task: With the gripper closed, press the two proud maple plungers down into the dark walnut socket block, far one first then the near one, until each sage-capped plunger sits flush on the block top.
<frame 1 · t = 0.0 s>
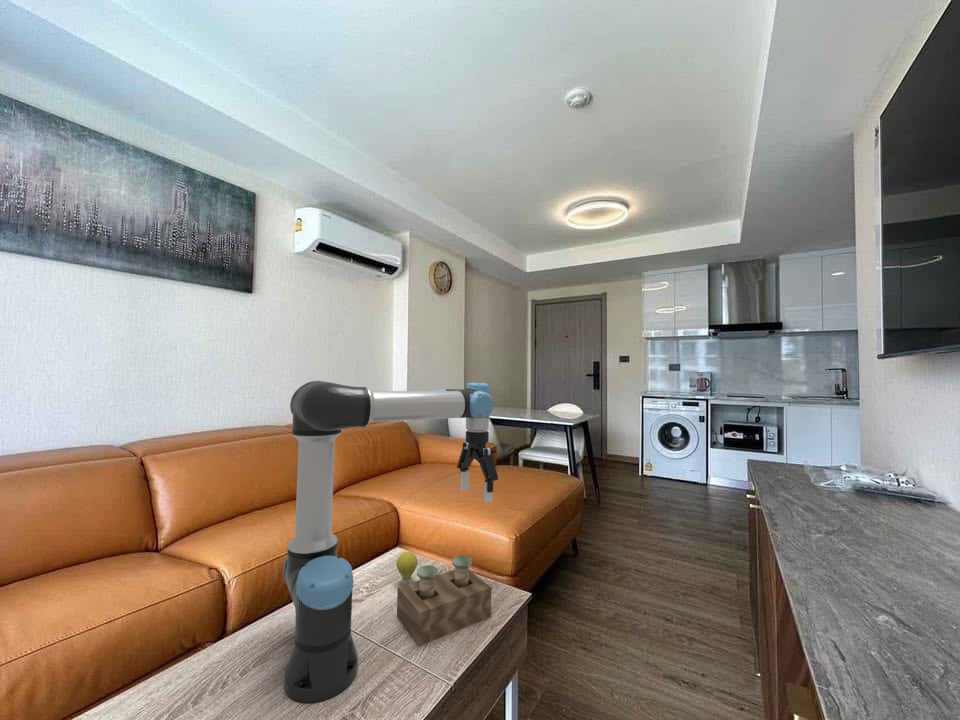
hand: (475, 496, 126), 28 cm above the table, fingers open, 13 cm apart
olive oval ball: (406, 585, 125), on the table
socket block: (443, 616, 108), on the table
near plunger: (427, 585, 106), point 10 cm above the table, slide at 5.0 cm
far plunger: (461, 574, 112), point 10 cm above the table, slide at 5.0 cm
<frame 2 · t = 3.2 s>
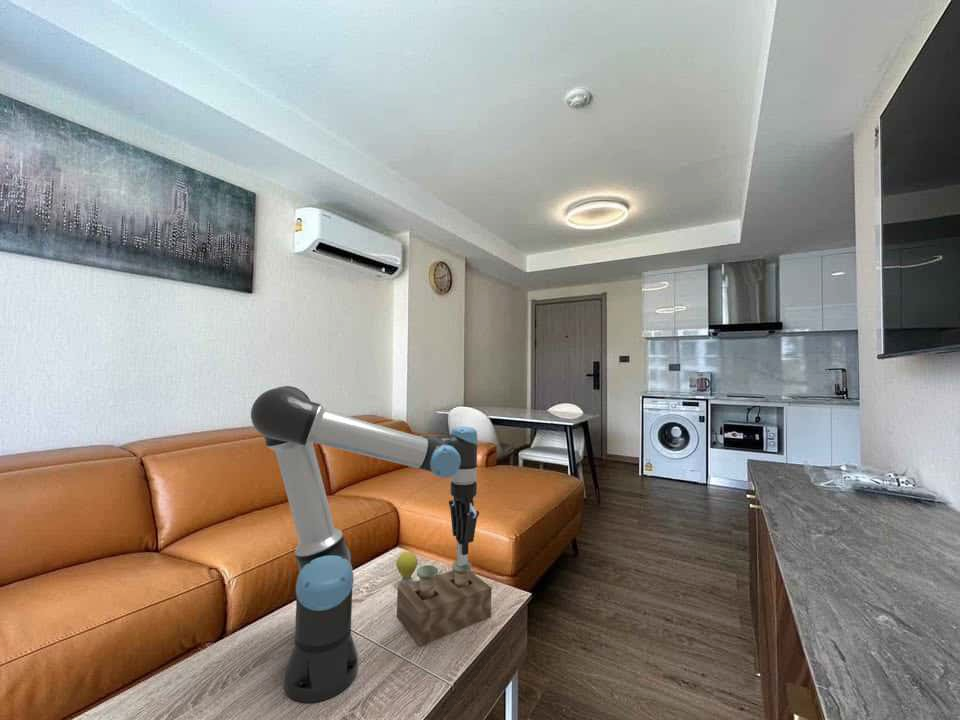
hand: (462, 564, 112), 13 cm above the table, fingers closed
far plunger: (461, 579, 112), point 9 cm above the table, slide at 3.6 cm, touching gripper
everything else where it was.
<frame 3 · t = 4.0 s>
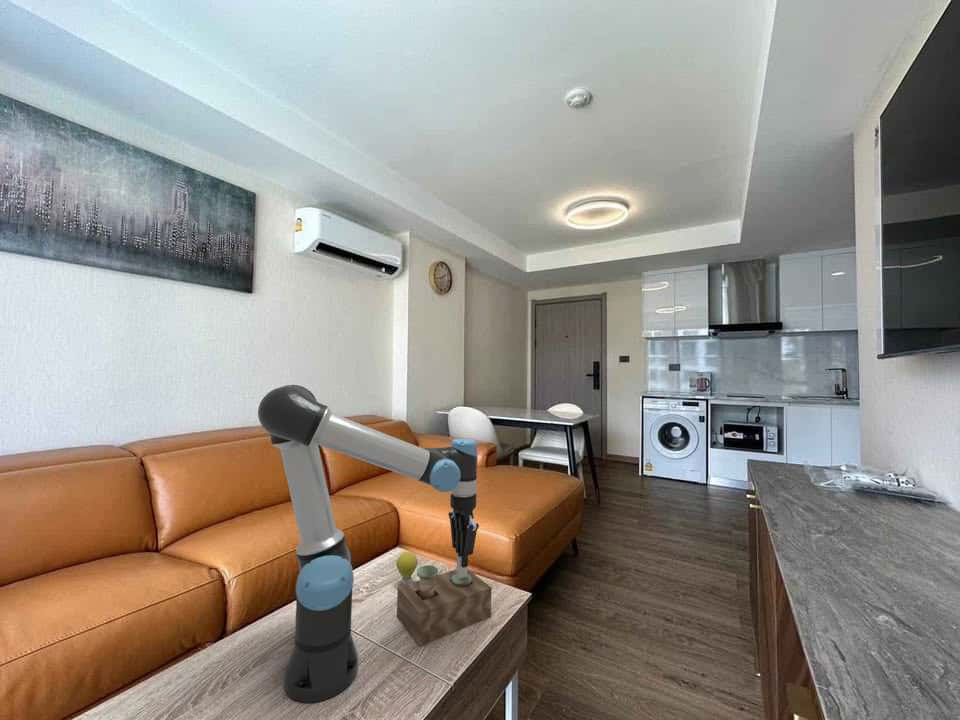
hand: (461, 576, 112), 9 cm above the table, fingers closed
far plunger: (461, 591, 112), point 5 cm above the table, slide at 0.1 cm, touching gripper
everything else where it was.
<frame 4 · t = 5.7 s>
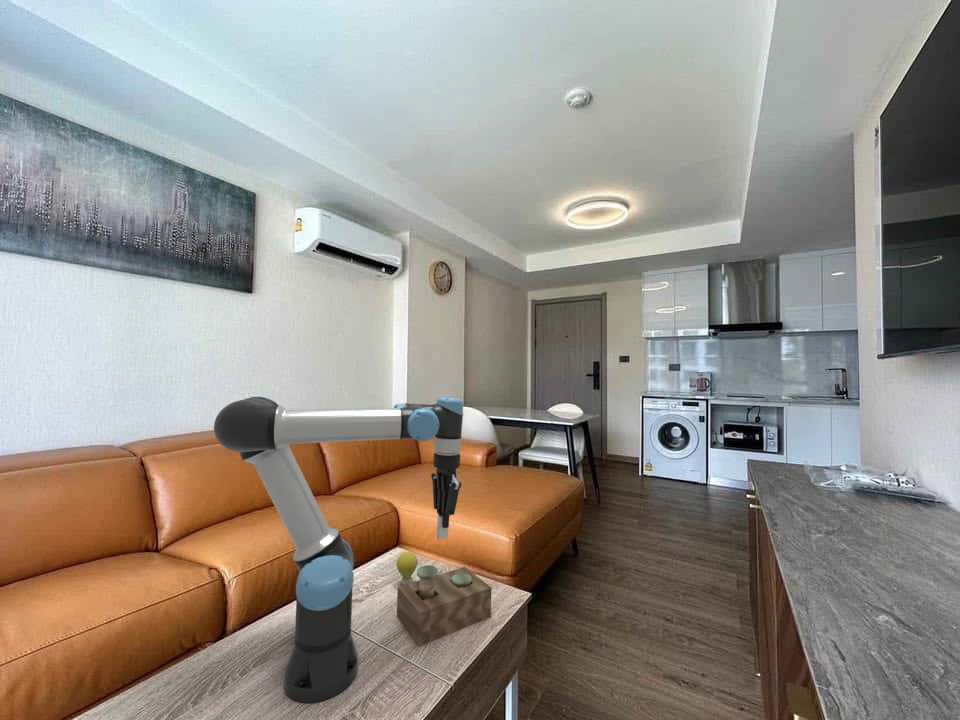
hand: (442, 538, 109), 22 cm above the table, fingers closed
far plunger: (461, 592, 112), point 5 cm above the table, slide at 0.1 cm
everything else where it was.
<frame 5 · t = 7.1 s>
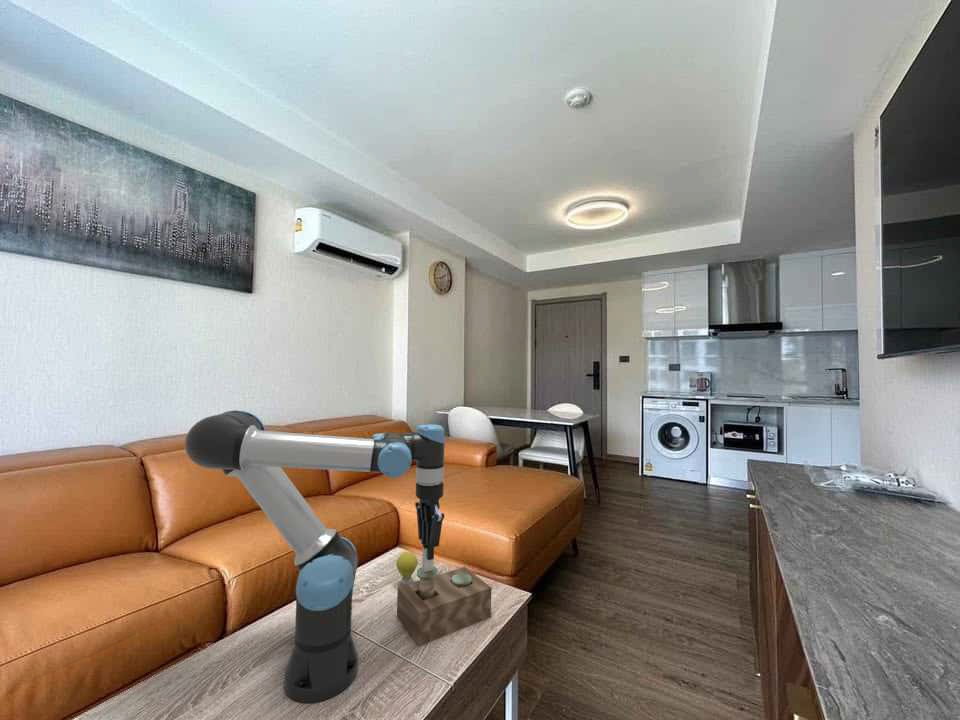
hand: (427, 569, 106), 14 cm above the table, fingers closed
near plunger: (427, 585, 106), point 10 cm above the table, slide at 4.9 cm, touching gripper
everything else where it was.
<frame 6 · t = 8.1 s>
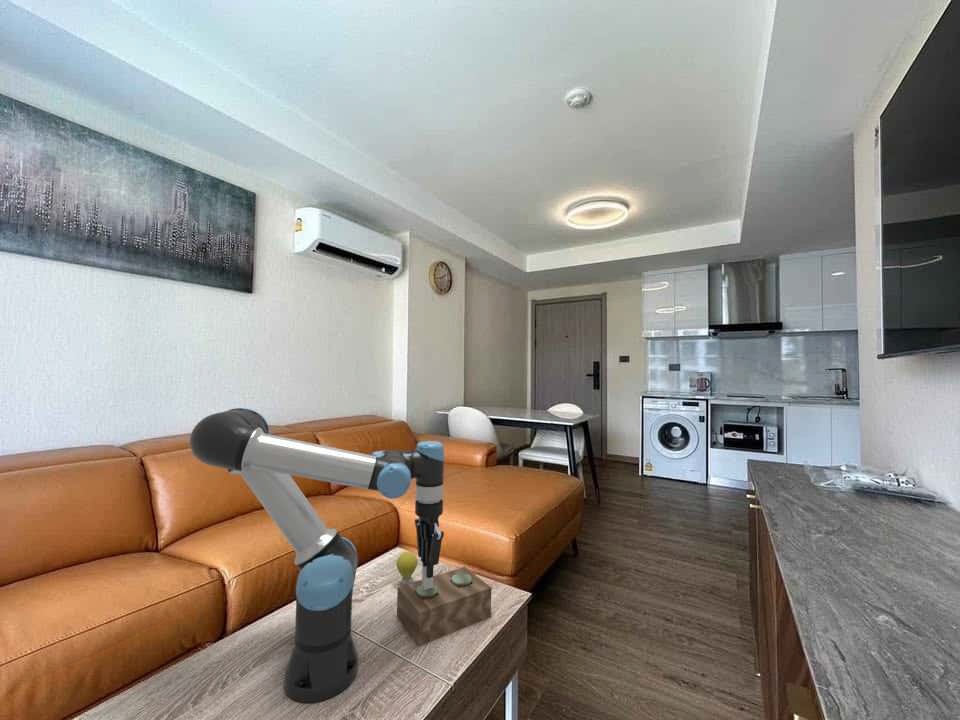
hand: (427, 587, 106), 9 cm above the table, fingers closed
near plunger: (426, 603, 105), point 5 cm above the table, slide at 0.2 cm, touching gripper
everything else where it was.
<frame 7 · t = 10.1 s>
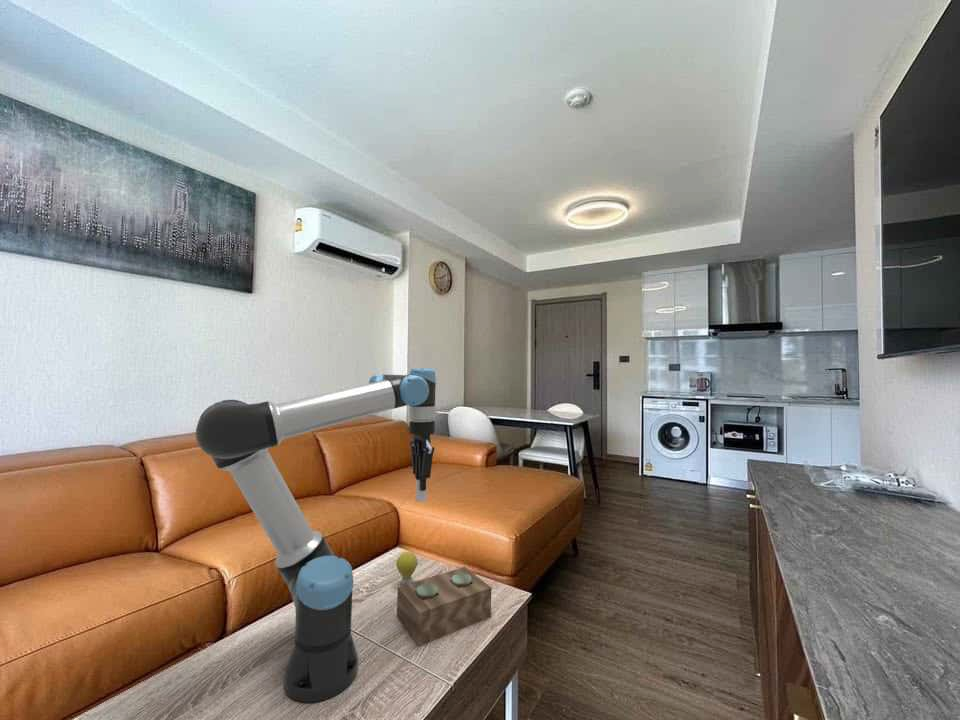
hand: (420, 500, 115), 30 cm above the table, fingers closed
near plunger: (426, 604, 105), point 5 cm above the table, slide at 0.1 cm
everything else where it was.
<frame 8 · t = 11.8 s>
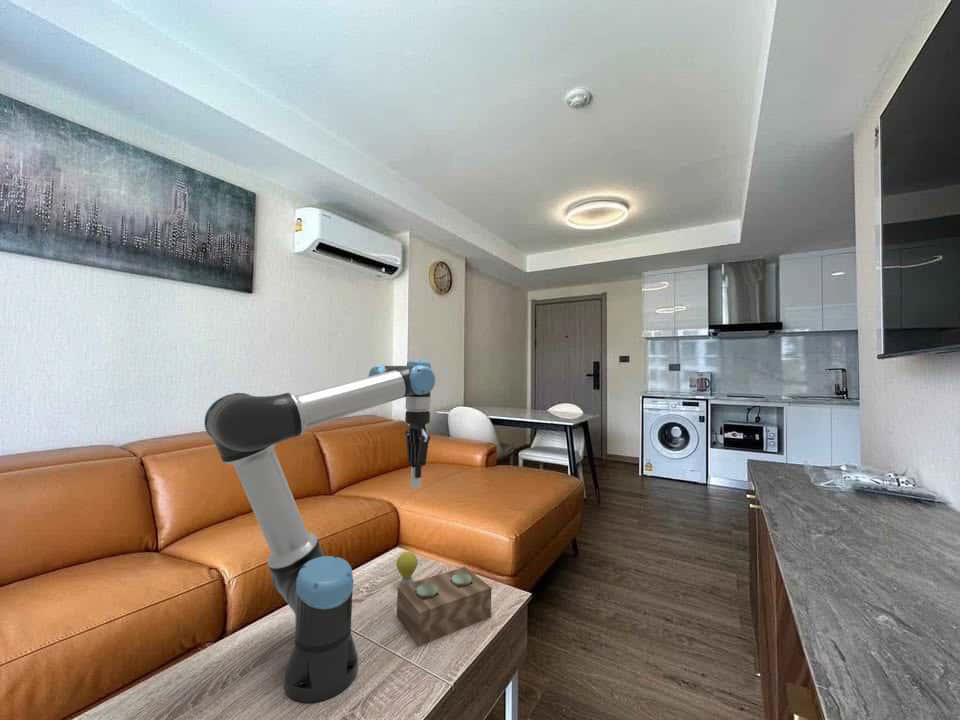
hand: (415, 487, 120), 32 cm above the table, fingers closed
nothing on the table moved.
at the end: far plunger slide at 0.1 cm; near plunger slide at 0.1 cm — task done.
